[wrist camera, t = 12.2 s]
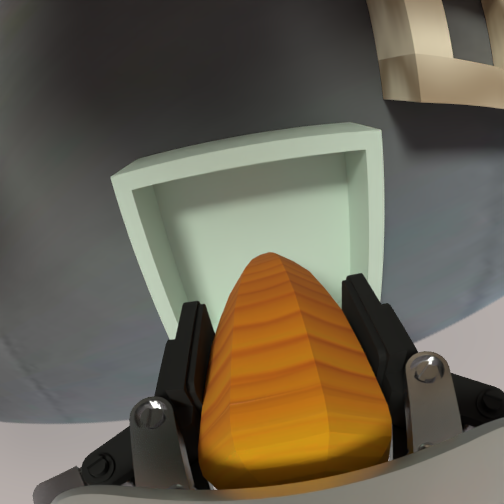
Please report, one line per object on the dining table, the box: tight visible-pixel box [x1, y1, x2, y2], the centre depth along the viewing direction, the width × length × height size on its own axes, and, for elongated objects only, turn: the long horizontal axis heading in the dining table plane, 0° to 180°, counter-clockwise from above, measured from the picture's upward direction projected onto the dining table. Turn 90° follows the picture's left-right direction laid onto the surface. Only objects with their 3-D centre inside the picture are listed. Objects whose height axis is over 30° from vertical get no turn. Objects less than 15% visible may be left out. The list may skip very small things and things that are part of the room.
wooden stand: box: [366, 0, 504, 109], centre depth 10 cm, size 12×12×4 cm
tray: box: [110, 122, 384, 340], centre depth 16 cm, size 12×12×4 cm
